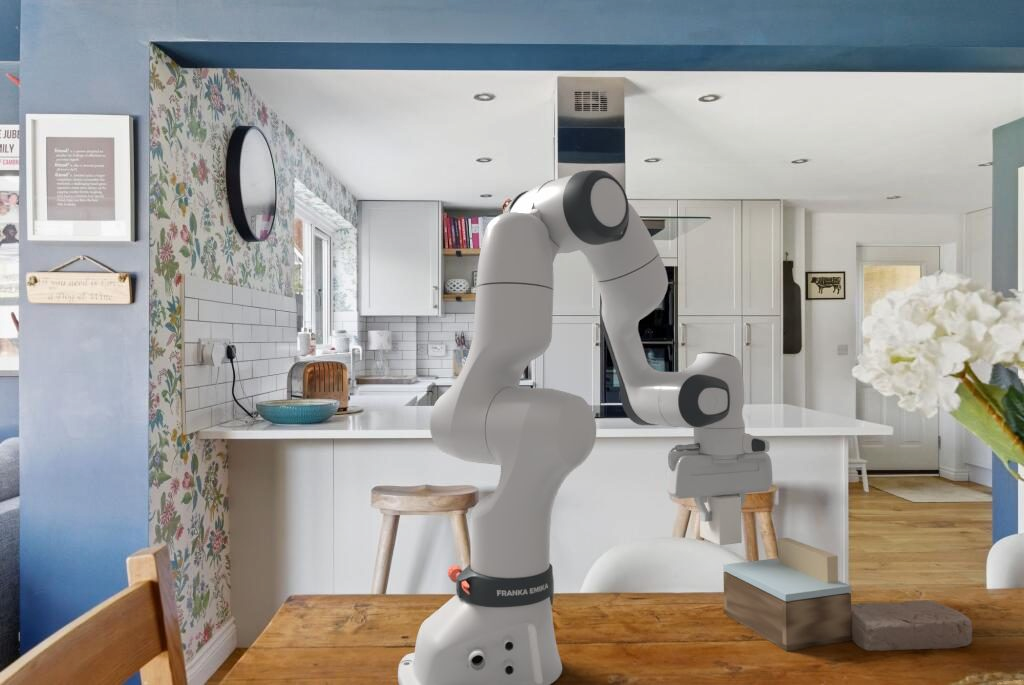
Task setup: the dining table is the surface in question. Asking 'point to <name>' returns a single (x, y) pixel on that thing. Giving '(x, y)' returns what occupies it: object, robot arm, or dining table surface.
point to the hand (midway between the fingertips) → (720, 519)
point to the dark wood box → (788, 615)
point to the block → (723, 520)
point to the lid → (793, 572)
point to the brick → (908, 626)
